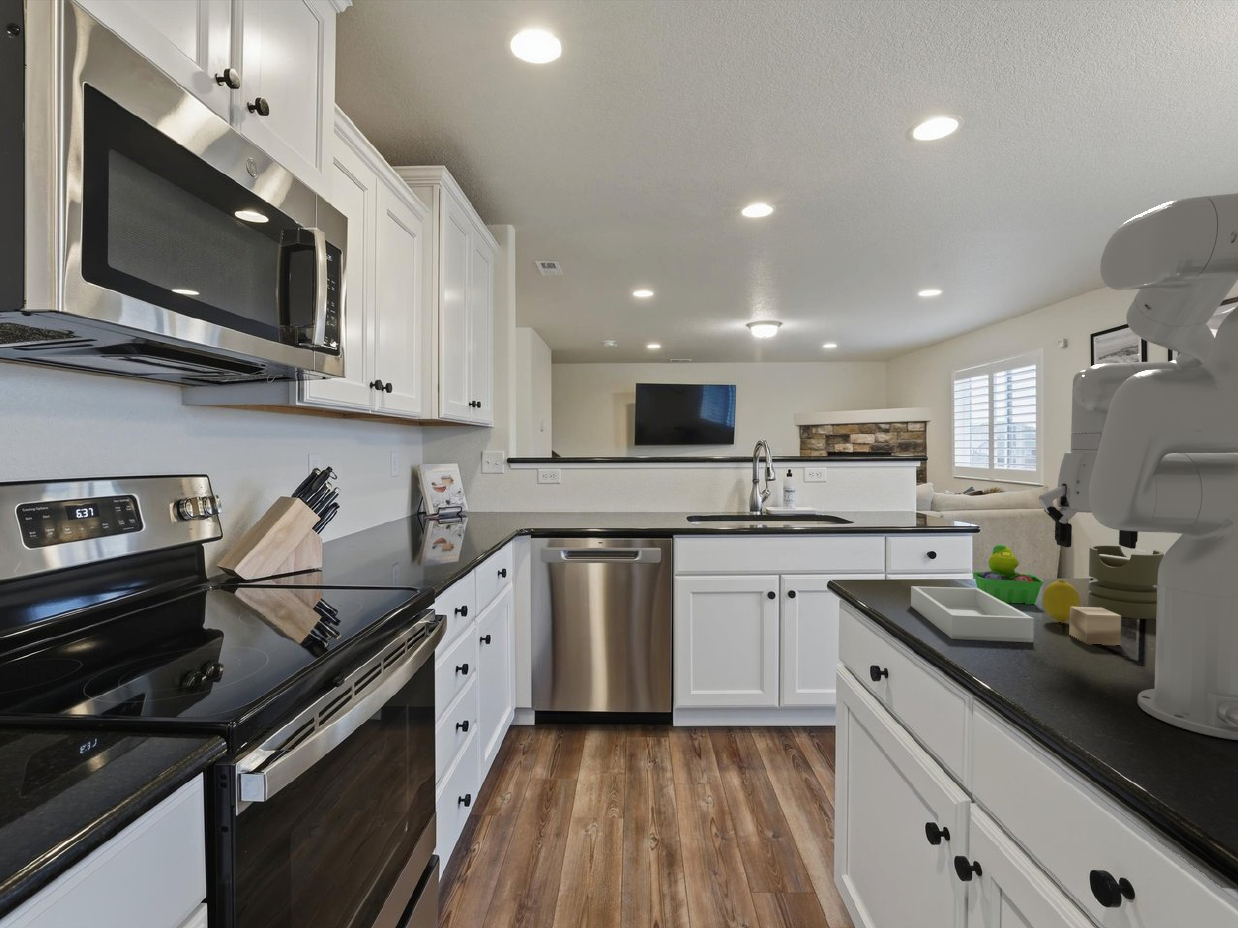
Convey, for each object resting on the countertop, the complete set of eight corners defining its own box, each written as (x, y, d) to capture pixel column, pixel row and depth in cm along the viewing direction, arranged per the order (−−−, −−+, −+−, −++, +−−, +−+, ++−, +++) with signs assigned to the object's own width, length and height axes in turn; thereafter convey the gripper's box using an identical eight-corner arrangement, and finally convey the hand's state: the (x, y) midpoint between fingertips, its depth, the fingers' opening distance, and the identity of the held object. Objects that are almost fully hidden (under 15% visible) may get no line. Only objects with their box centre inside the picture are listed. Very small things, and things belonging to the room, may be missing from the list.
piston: (1147, 557, 115) (1078, 548, 125) (1145, 621, 115) (1076, 607, 125) (1174, 551, 121) (1106, 543, 130) (1172, 613, 121) (1104, 600, 131)
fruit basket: (980, 603, 129) (981, 548, 129) (970, 593, 138) (970, 542, 137) (1044, 607, 126) (1045, 551, 125) (1029, 596, 134) (1030, 544, 134)
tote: (1033, 642, 103) (1033, 618, 103) (952, 638, 105) (952, 615, 105) (977, 608, 125) (978, 588, 125) (910, 605, 127) (911, 586, 126)
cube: (1120, 646, 102) (1121, 615, 102) (1086, 644, 103) (1087, 614, 102) (1101, 636, 107) (1102, 607, 107) (1069, 635, 108) (1069, 606, 107)
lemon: (1044, 624, 113) (1045, 580, 113) (1040, 617, 118) (1041, 575, 118) (1082, 628, 111) (1083, 584, 111) (1076, 621, 116) (1077, 578, 116)
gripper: (1141, 443, 106) (1137, 543, 107) (1030, 443, 109) (1027, 541, 110) (1173, 444, 99) (1169, 552, 100) (1054, 444, 101) (1051, 549, 102)
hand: (1095, 546), depth 105 cm, fingers open, 9 cm apart
